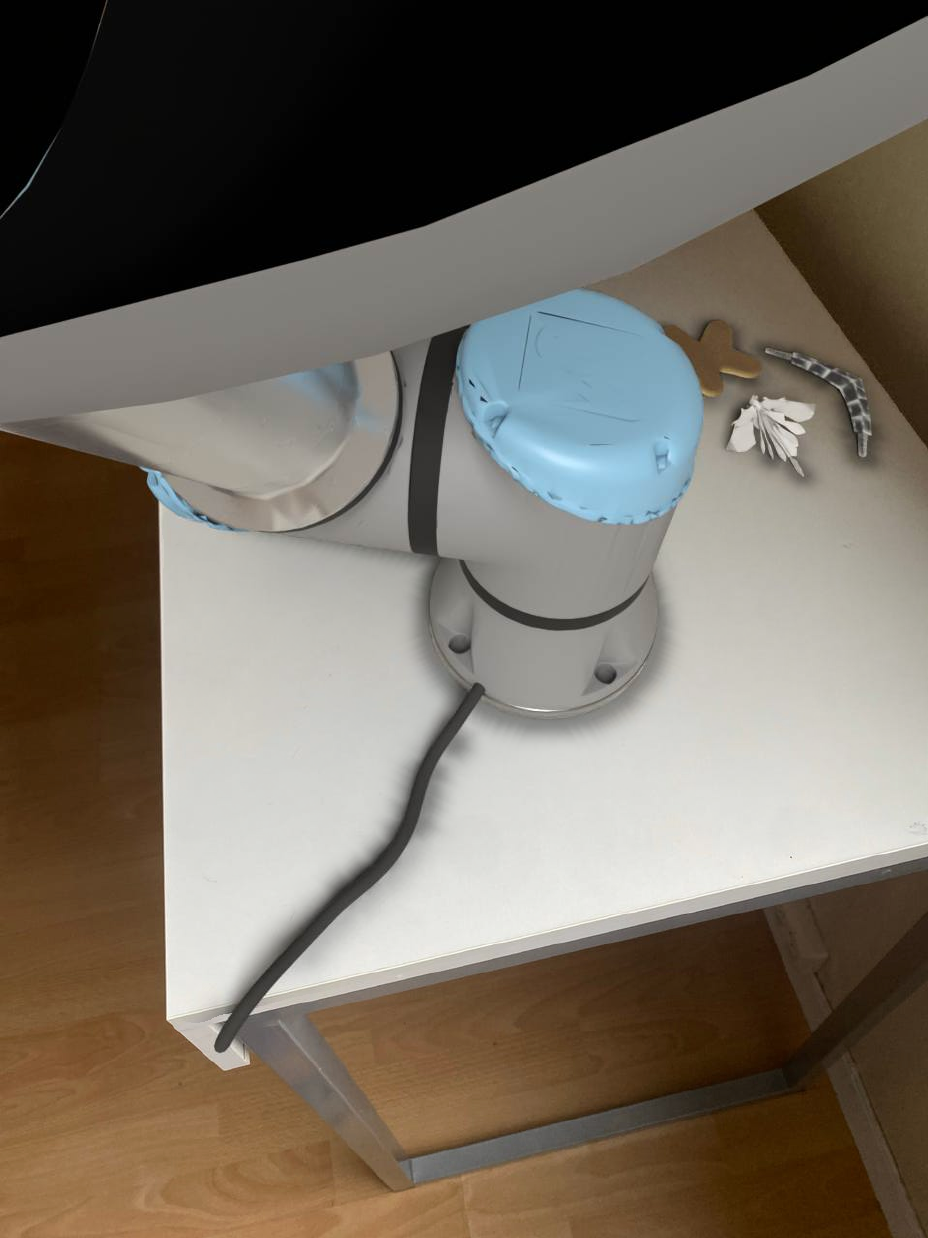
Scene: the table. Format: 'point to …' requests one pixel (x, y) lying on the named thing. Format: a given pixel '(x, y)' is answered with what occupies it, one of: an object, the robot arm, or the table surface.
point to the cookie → (714, 356)
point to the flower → (771, 426)
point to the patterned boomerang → (848, 387)
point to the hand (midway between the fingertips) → (409, 192)
